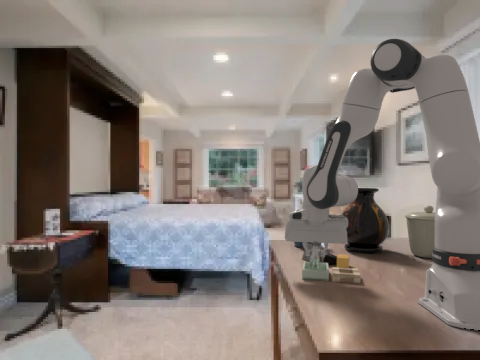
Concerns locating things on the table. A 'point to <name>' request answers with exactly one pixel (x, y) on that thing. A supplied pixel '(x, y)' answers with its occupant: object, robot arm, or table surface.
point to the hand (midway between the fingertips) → (315, 255)
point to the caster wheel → (327, 259)
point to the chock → (342, 261)
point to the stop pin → (315, 254)
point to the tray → (315, 272)
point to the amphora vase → (365, 223)
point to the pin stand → (346, 275)
